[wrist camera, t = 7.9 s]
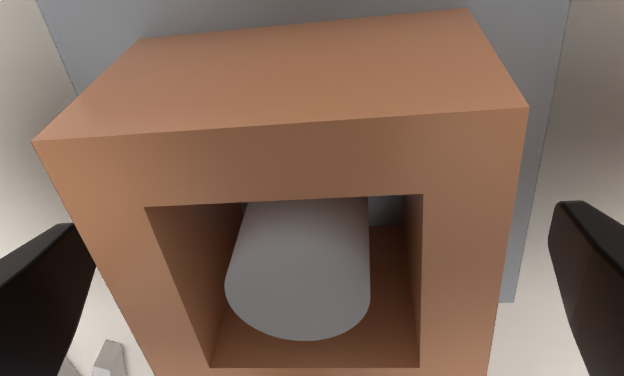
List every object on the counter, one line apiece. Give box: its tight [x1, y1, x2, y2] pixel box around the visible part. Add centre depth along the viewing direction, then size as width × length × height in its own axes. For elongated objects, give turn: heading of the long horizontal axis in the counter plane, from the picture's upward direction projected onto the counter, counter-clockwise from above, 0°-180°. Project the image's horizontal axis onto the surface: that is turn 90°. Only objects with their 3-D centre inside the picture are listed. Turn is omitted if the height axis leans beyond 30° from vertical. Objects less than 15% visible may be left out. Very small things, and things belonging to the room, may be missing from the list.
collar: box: [30, 7, 530, 376], centre depth 10 cm, size 6×6×4 cm
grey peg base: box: [36, 0, 571, 341], centre depth 10 cm, size 10×10×6 cm
